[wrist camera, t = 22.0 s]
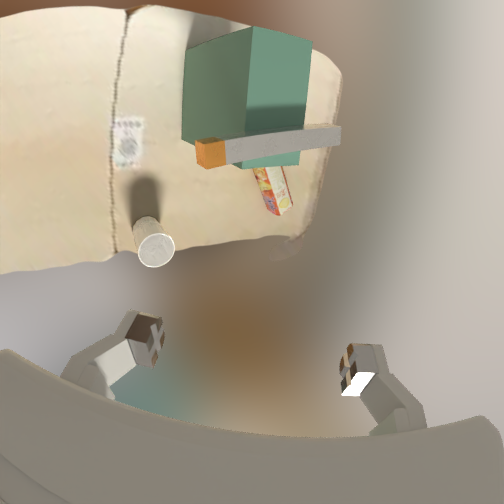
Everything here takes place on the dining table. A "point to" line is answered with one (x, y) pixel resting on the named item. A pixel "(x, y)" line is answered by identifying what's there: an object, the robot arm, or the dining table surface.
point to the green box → (246, 87)
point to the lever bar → (264, 143)
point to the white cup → (152, 242)
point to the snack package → (274, 189)
